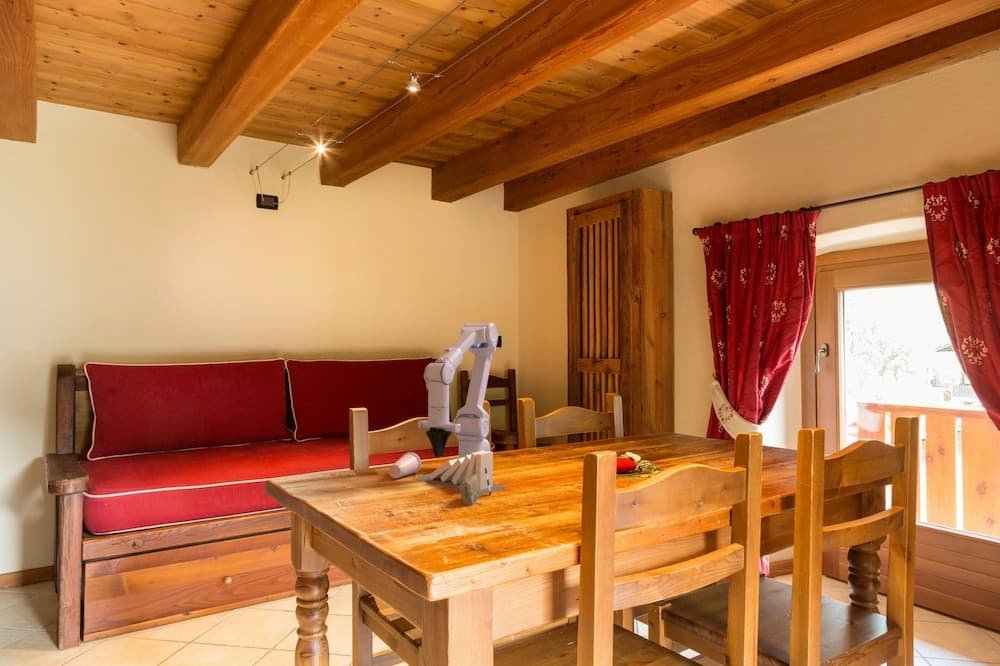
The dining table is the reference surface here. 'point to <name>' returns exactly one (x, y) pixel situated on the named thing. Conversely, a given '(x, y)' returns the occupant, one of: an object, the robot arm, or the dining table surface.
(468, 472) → the domino
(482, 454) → the domino
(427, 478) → the runner mat
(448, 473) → the domino
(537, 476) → the dining table surface
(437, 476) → the domino
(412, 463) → the smoothie
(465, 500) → the cuneiform tablet
